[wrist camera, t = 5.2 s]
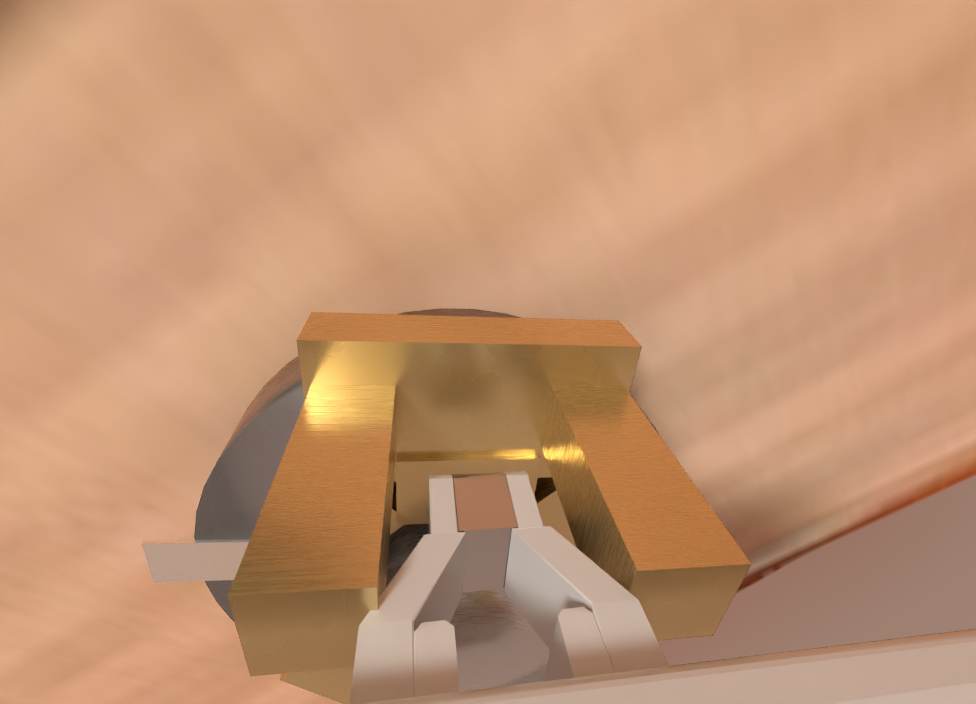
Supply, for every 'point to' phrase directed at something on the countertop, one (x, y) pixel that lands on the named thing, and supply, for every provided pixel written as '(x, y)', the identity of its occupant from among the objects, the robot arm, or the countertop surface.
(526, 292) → the countertop surface
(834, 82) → the countertop surface
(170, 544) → the grey round piece
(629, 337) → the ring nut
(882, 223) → the countertop surface
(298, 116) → the countertop surface
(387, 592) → the robot arm
